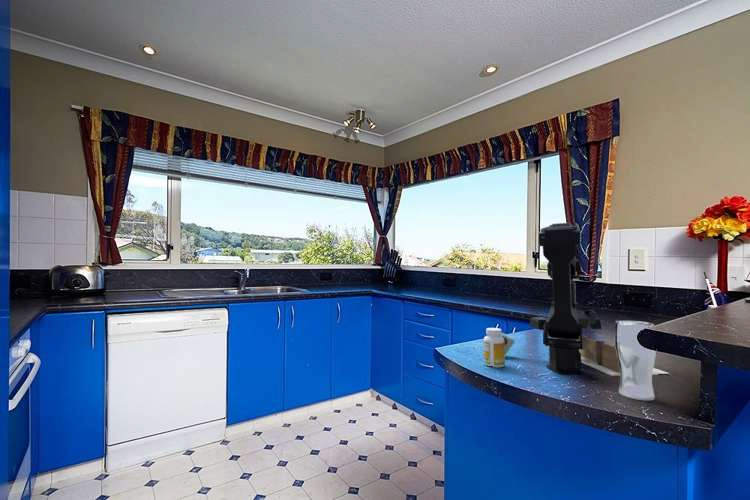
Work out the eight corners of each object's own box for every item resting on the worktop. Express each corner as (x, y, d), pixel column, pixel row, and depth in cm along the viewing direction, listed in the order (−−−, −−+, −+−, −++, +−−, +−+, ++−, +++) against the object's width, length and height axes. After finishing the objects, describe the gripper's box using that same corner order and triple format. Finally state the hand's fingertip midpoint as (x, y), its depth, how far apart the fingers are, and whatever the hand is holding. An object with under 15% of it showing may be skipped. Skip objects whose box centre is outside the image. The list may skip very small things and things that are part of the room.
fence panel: (600, 361, 95) (600, 341, 96) (595, 361, 95) (594, 341, 96) (578, 352, 105) (577, 334, 105) (572, 352, 105) (572, 334, 105)
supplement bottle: (506, 364, 96) (506, 328, 97) (502, 369, 92) (501, 331, 92) (487, 361, 99) (486, 326, 100) (481, 365, 95) (481, 329, 95)
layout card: (612, 375, 86) (612, 373, 86) (568, 356, 104) (568, 354, 104) (668, 374, 87) (668, 372, 87) (615, 355, 105) (615, 354, 105)
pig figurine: (514, 354, 106) (514, 332, 107) (518, 358, 102) (517, 334, 103) (487, 353, 107) (486, 331, 108) (489, 357, 103) (489, 334, 104)
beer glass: (608, 389, 77) (606, 320, 77) (638, 388, 77) (635, 320, 78) (634, 402, 70) (632, 326, 70) (667, 401, 70) (664, 325, 71)
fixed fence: (627, 378, 84) (626, 350, 84) (595, 365, 95) (595, 340, 95) (634, 378, 84) (633, 350, 84) (602, 365, 95) (601, 340, 95)
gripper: (548, 302, 94) (550, 361, 93) (615, 301, 95) (617, 360, 94) (528, 298, 105) (529, 351, 104) (588, 297, 106) (589, 349, 106)
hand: (565, 353), depth 102 cm, fingers closed
